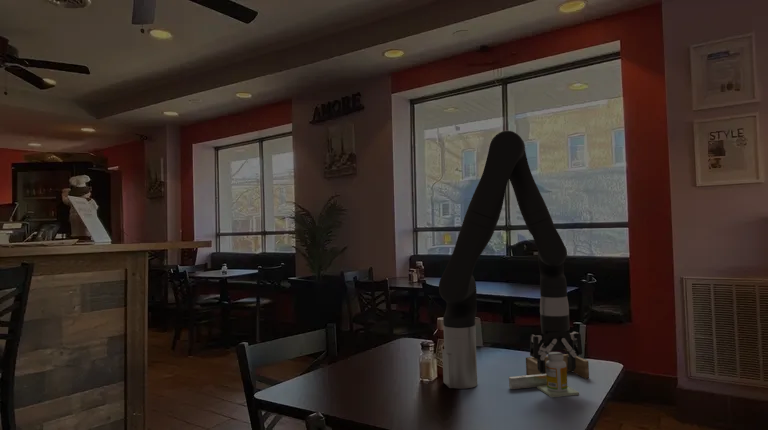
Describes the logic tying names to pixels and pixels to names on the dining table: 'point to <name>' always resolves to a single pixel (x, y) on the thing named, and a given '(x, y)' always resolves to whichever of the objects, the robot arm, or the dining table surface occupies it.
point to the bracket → (581, 363)
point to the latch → (527, 381)
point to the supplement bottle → (556, 372)
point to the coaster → (558, 394)
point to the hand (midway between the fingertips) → (556, 371)
